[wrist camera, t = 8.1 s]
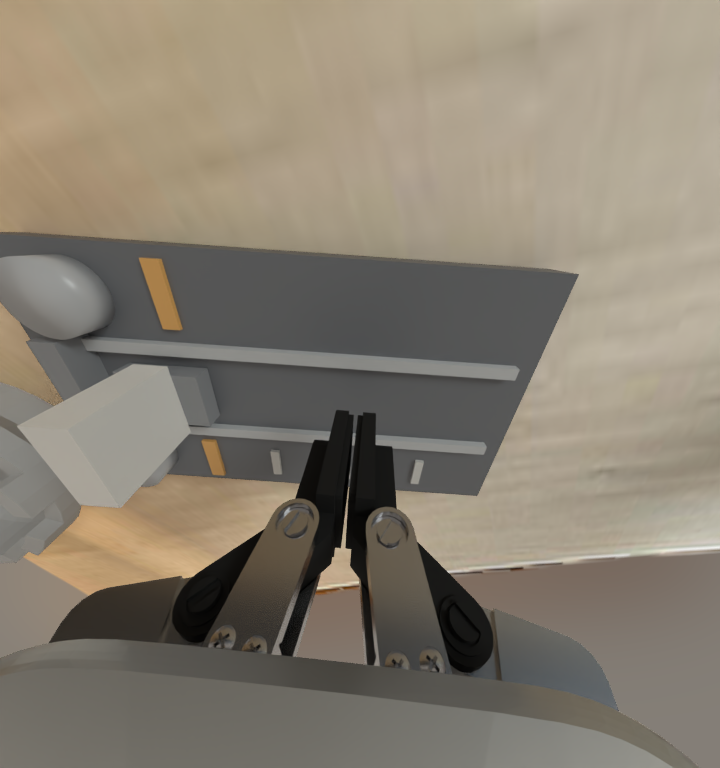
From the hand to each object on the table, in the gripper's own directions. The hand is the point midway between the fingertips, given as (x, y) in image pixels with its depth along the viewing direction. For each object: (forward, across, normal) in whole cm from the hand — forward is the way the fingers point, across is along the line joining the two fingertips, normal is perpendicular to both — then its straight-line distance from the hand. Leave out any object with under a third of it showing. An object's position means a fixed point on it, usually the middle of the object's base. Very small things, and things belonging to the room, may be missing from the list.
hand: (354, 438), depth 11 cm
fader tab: (+3, +10, 0) cm, 10 cm away
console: (+5, +4, 0) cm, 6 cm away
